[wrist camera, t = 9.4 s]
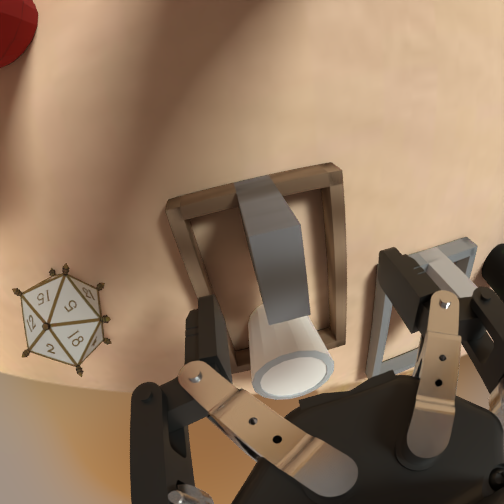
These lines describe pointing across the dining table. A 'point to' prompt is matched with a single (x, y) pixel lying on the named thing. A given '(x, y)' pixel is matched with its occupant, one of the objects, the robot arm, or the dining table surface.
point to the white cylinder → (286, 357)
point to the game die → (63, 319)
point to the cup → (495, 270)
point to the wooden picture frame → (273, 244)
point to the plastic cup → (16, 28)
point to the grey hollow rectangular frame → (446, 278)
